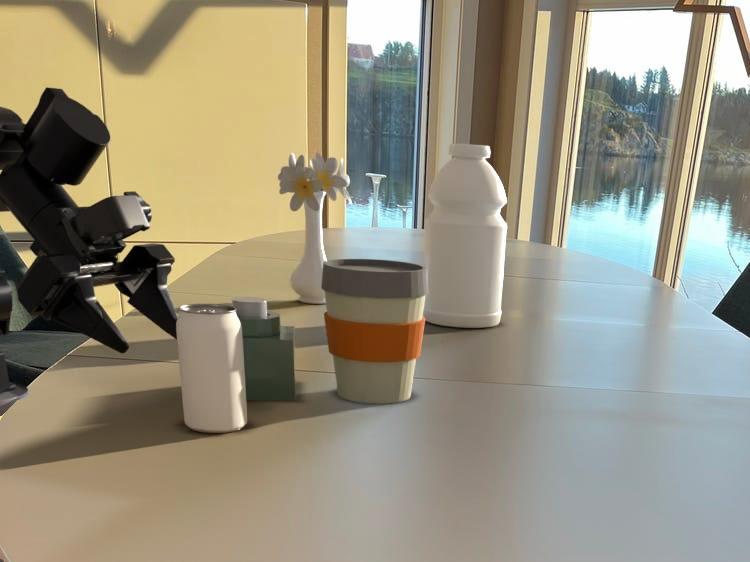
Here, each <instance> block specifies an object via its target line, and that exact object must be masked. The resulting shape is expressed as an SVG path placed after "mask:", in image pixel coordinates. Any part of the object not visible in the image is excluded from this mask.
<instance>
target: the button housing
mask: <svg viewBox="0 0 750 562" xmlns="http://www.w3.org/2000/svg"><path fill="white" fill-rule="evenodd" d="M237 317H238V316H237ZM238 318H239V320H240V322H241V326H242V338H243V354H244V370H245V388H246V401H270V402H296V397H297V396H296V394H297V363H296V335H295V333H296V332H295V331H296V330H295V326H294V325H281V323H282V322H281V313H279V312H275V311H274V310H273V311H272V310H267V316H266V317H256V318H251V317H238Z"/></svg>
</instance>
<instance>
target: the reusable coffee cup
mask: <svg viewBox="0 0 750 562" xmlns="http://www.w3.org/2000/svg"><path fill="white" fill-rule="evenodd" d="M321 289H323V290H324V293H325V300H326V304H325V308H326V311H325V312H323V320H324V325H325V333H326V341H327V347H328V348H327V349H328V353H329V354H331V356H332V360H333V365H334V374H335V383H336V389H337V395H338V396H339V398H342V399H344V400H348V401H351V402H355V403H356V402H357V403H363V404H378V405H379V404H381V405H382V404H396V403H400V402H404V401H407V400H409V399H410V398H411V395H412V387H413V381H414V374H415V368H416V361H417V359H418V358H419V357H420V356H421V350H422V346H423V345H422V343H423V337H424V331H425V326H426V325H425V324H426V321H425V317H423V308H424V302H425V295H427V294H428V280H427V268H426V267H425V266H424V265H422V264H419V263H414V262H408V261H400V260H389V259H375V258H337V259H327V261H325V262H323V273H322V285H321Z"/></svg>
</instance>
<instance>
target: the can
mask: <svg viewBox="0 0 750 562" xmlns="http://www.w3.org/2000/svg"><path fill="white" fill-rule="evenodd" d="M178 310H179V314H178V319H177V322H176V331H177V339H176V343H177V353H178V354H177V355H178V364H179V365H178V366H179V375H180V376H179V377H180V387H181V388H180V389H181V399H182V409H183V419H184V424H185V425H186V427H188V429H189V430H192V431H194V432H198V433H204V434H226V433H228V434H229V433H232V432H234V433H235V432H238V431H240V430H243V429H244V428H245V426H246V425H247V424H248V409H247V400H246V388H245V370H244V354H243V338H242V326H241V322H240V320H239V318H238V317H237V314H236V310H237V309H236V308H235V307H233V306H232V305H229V304H222V303H221V304H220V303H188V304H182V305H180V306H179V307H178Z"/></svg>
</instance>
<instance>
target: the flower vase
mask: <svg viewBox="0 0 750 562" xmlns="http://www.w3.org/2000/svg"><path fill="white" fill-rule="evenodd" d="M305 164H306V161H305V156H304V155H303V154H300V155H299V156H298V157H297V160H296V157H295V154H294V153H293V152H291V153H290V154H289V157H288V165H284V166H281V168H280V172H279V173H278V175H277V180H278V181H279V191H278V193H279V194H280V195H284V194H288V193H290V194H293V195H292V196H291V198H290V201H289V209H290V210H291V211H292V212H297V211H298V210H300V209H301V208H302V206H303V208H304V209H303V210H304V218H305V219H304V221H305V222H304V223H305V224H304V227H305V229H304V230H305V233H304V235H305V236H304V240H305V241H304V250H303V254H302V256H301V260H300V262H299V263H298V265H297V266H296V267H295V268H294V269H293V270H292V272H291V274H290V276H289V286H290V288H291V289H292V291H293V292H294V293H295V294H296V295H298V301H299V302H300V303H304V304H313V305H326V300H325V293H324V290H323V289H321V285H322V273H323V262H325V261H328V259H327V256H326V253H325V248H324V240H323V239H324V238H323V220H322V219H323V205H324V200H325V197H326V195H327V197H328V198H329V199H330V200H331V201H333V202H336V201H337V198H338V195H337V193H338V192H339V193H340V194H341V196H342V197H343V198H344V200H345V201H347V202H348V203H349V204H350V205H352V197H351V195H350V193H349V192H348V190H347V187H349V186H350V182H351V180H350V176H349V175H348V174H346V173H345V174H343V173H344V167H345V166H344V165H345V164H344V158H343V157H342V158H341V159H340V161H339V163H338V159H336V157H329V158H327V159H326V161H325V160H324V158H323V157H322V155H321V154H320V153H319V152H316V153H315V158H313V157H311V158H310V159H309V164H310V167H308V166H306V165H305ZM338 165H339V166H338ZM335 173H336V174H335Z"/></svg>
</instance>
